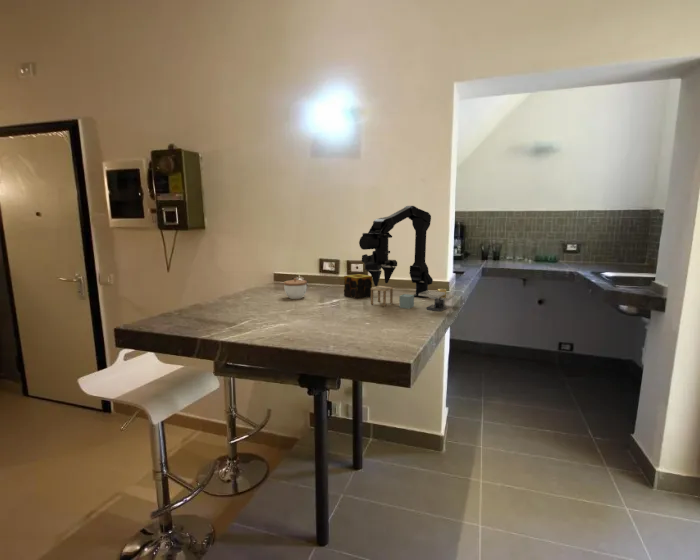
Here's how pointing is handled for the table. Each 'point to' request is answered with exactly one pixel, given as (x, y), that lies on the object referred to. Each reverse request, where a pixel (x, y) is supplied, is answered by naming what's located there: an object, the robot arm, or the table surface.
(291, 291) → the lidded jar
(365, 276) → the candle
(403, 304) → the block
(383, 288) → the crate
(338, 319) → the table surface
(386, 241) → the robot arm
